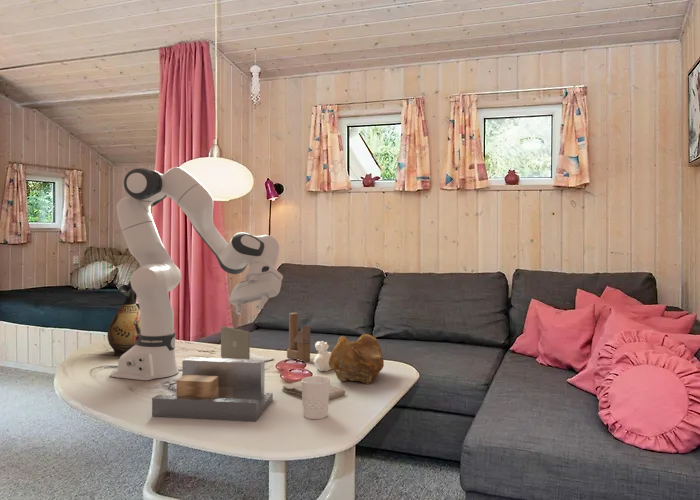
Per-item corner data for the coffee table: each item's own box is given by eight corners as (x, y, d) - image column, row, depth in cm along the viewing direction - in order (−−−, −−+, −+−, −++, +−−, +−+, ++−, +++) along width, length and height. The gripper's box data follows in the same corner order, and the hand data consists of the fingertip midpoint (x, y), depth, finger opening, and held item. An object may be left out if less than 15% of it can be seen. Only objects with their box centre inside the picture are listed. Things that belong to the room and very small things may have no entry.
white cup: (301, 410, 156) (301, 376, 156) (328, 410, 157) (329, 375, 156) (301, 420, 148) (301, 384, 148) (330, 420, 149) (330, 383, 149)
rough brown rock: (360, 394, 175) (365, 348, 174) (320, 380, 185) (324, 337, 184) (398, 380, 194) (403, 339, 193) (360, 369, 204) (364, 329, 203)
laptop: (274, 360, 215) (274, 327, 215) (248, 366, 206) (249, 331, 205) (246, 353, 227) (246, 321, 227) (220, 358, 218) (220, 325, 217)
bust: (332, 371, 208) (317, 345, 211) (345, 361, 205) (330, 335, 208) (314, 378, 198) (298, 351, 201) (328, 368, 194) (312, 340, 198)
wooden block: (303, 362, 212) (303, 316, 211) (286, 357, 220) (287, 312, 219) (310, 361, 214) (310, 315, 213) (294, 356, 222) (294, 312, 221)
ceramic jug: (139, 358, 215) (139, 282, 214) (100, 357, 215) (100, 281, 214) (155, 348, 232) (155, 278, 231) (119, 348, 232) (119, 277, 231)
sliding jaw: (182, 400, 164) (182, 360, 164) (187, 395, 168) (187, 357, 168) (260, 403, 162) (261, 363, 161) (264, 399, 166) (264, 359, 165)
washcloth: (305, 385, 183) (305, 375, 183) (347, 396, 172) (347, 386, 172) (279, 393, 174) (279, 383, 174) (321, 405, 163) (321, 395, 163)
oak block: (176, 412, 154) (176, 380, 153) (185, 405, 160) (185, 374, 159) (211, 413, 153) (211, 381, 152) (218, 406, 159) (218, 376, 158)
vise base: (152, 416, 150) (152, 398, 150) (180, 395, 169) (180, 379, 169) (255, 421, 147) (256, 403, 147) (272, 399, 166) (272, 383, 166)
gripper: (231, 278, 193) (220, 311, 184) (275, 265, 182) (265, 300, 174) (243, 287, 197) (232, 321, 188) (287, 275, 186) (277, 310, 178)
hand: (248, 311), depth 181 cm, fingers open, 8 cm apart
